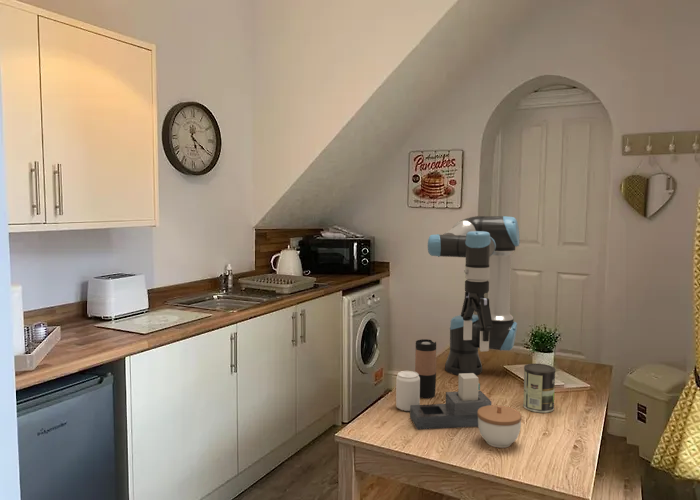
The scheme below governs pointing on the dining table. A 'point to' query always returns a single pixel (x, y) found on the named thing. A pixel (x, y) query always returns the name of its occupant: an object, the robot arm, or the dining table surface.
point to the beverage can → (407, 390)
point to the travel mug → (426, 367)
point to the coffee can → (539, 388)
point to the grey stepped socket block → (448, 412)
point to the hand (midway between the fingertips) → (475, 345)
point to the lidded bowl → (499, 425)
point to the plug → (468, 386)
